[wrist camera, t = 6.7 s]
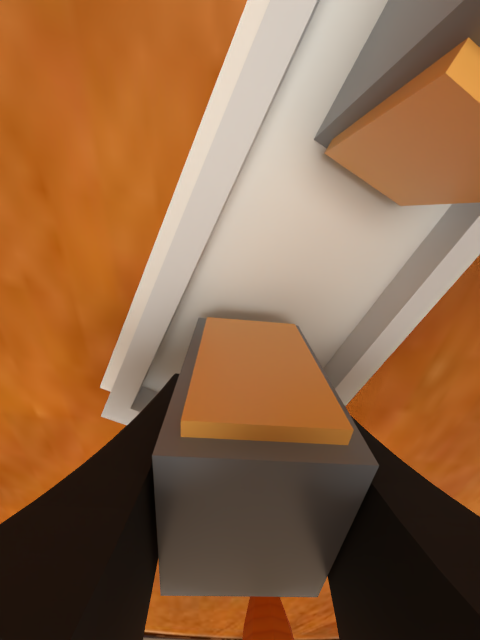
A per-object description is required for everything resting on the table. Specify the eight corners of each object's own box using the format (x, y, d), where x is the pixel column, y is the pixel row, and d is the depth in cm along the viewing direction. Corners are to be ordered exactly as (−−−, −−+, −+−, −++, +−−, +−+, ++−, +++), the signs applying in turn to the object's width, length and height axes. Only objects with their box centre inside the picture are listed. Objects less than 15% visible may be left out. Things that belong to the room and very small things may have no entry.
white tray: (595, 65, 8) (732, 9, 6) (285, 441, 15) (294, 482, 13) (339, -215, 6) (402, -471, 4) (109, 375, 13) (82, 410, 11)
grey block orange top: (195, 414, 12) (160, 595, 6) (198, 308, 10) (150, 437, 4) (278, 419, 12) (317, 597, 6) (299, 316, 10) (386, 449, 4)
